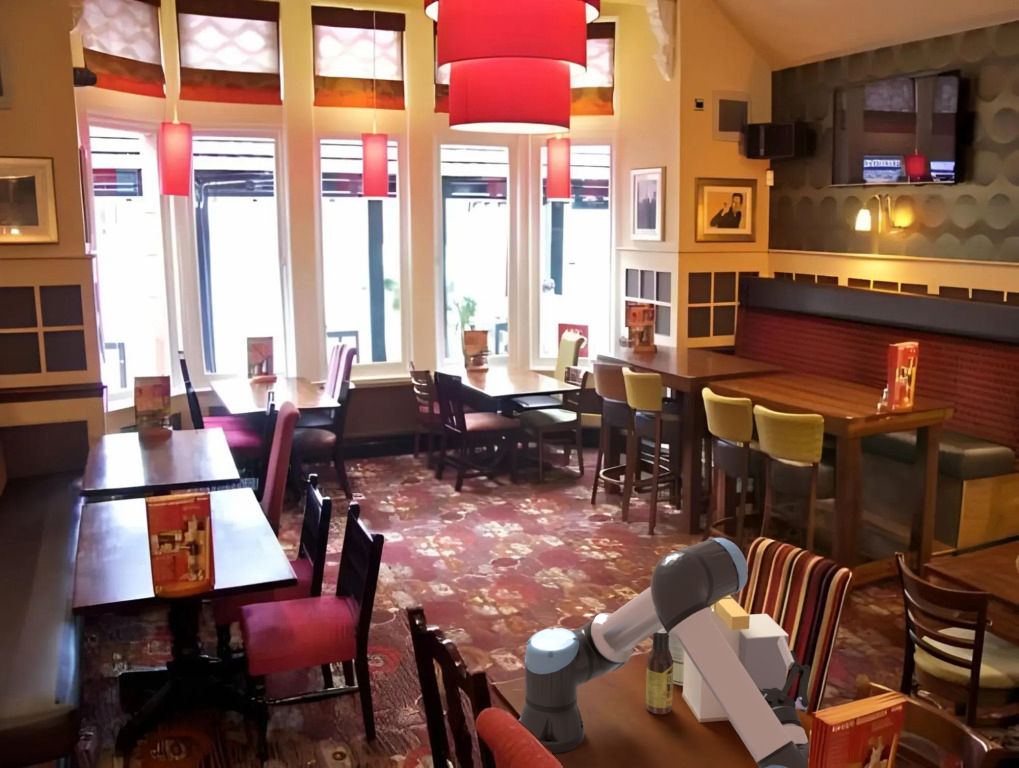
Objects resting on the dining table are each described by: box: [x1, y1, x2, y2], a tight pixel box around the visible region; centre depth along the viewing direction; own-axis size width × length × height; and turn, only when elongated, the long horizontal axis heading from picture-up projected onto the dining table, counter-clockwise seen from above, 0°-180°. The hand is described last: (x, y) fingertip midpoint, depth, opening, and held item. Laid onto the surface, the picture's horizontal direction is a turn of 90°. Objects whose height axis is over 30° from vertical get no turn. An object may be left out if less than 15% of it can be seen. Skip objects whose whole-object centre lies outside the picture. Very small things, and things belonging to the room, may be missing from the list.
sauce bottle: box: [645, 628, 674, 715], centre depth 218 cm, size 6×6×20 cm
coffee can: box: [669, 636, 685, 687], centre depth 234 cm, size 10×10×14 cm
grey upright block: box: [739, 613, 790, 691], centre depth 216 cm, size 12×10×22 cm
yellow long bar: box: [711, 595, 750, 630], centre depth 212 cm, size 24×4×3 cm, turn 8°
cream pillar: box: [681, 606, 741, 723], centre depth 218 cm, size 12×9×27 cm
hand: (750, 640), depth 197 cm, fingers open, 13 cm apart
